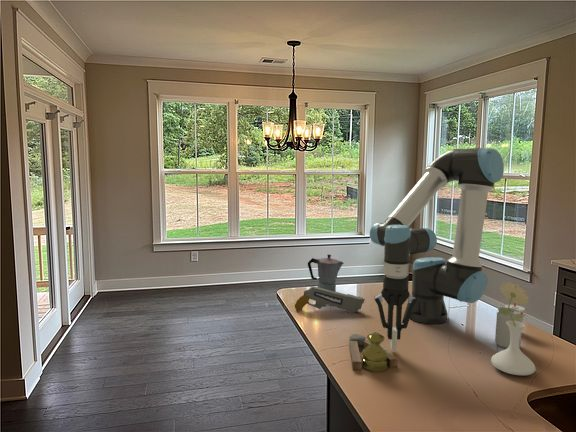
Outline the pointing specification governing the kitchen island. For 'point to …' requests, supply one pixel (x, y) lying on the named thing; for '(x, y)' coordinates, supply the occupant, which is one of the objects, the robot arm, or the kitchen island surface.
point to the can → (505, 327)
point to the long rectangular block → (391, 358)
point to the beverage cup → (516, 307)
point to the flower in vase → (513, 336)
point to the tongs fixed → (356, 350)
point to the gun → (329, 300)
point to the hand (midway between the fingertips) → (393, 348)
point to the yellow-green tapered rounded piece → (375, 354)
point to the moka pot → (326, 272)
